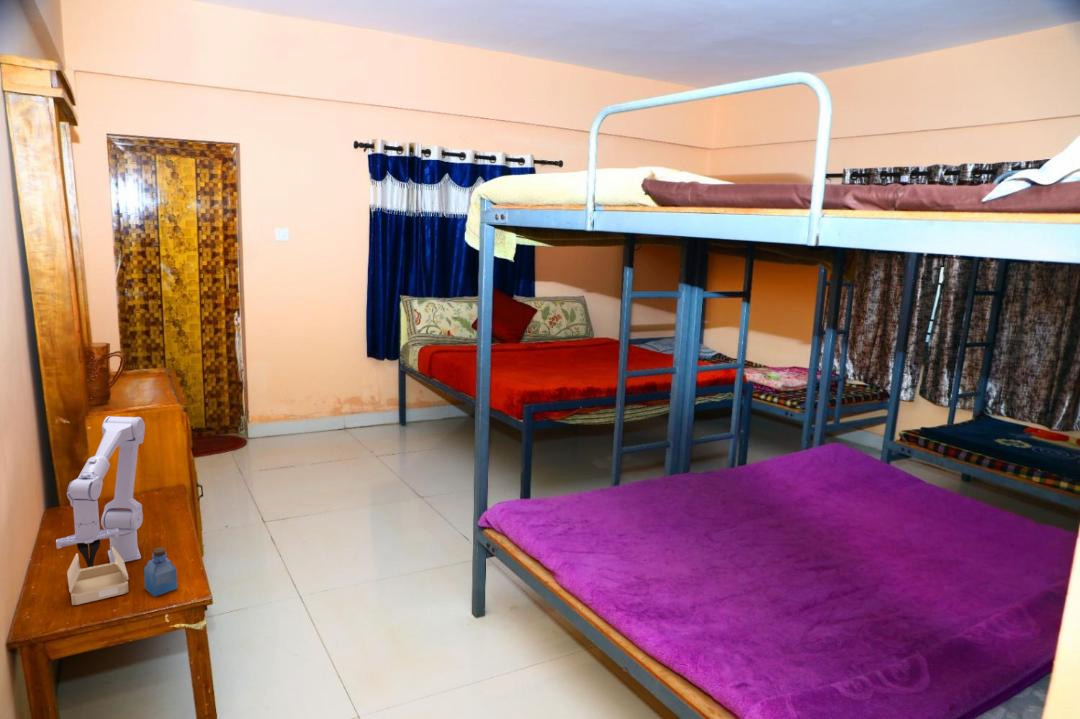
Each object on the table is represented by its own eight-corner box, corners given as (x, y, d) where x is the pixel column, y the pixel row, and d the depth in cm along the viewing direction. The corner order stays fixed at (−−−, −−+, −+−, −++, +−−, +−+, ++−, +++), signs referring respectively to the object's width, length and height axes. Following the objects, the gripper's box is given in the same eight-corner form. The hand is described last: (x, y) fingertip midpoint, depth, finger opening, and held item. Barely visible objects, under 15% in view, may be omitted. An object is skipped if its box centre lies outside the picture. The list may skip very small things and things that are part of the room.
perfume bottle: (167, 580, 202) (165, 542, 200) (177, 588, 198) (175, 550, 196) (145, 588, 197) (142, 549, 195) (154, 596, 194) (152, 557, 191)
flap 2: (122, 561, 204) (111, 546, 202) (123, 560, 204) (112, 546, 202) (127, 579, 195) (115, 564, 192) (128, 579, 195) (117, 563, 193)
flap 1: (67, 572, 196) (76, 553, 197) (68, 572, 196) (77, 553, 197) (69, 592, 187) (79, 571, 187) (71, 592, 187) (80, 572, 188)
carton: (69, 581, 198) (68, 571, 198) (122, 569, 206) (121, 560, 206) (72, 606, 186) (71, 596, 186) (128, 593, 194) (128, 583, 194)
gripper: (55, 531, 184) (59, 578, 187) (118, 520, 192) (121, 565, 195) (54, 521, 189) (58, 567, 192) (116, 511, 198) (118, 554, 201)
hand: (90, 565), depth 194 cm, fingers closed
